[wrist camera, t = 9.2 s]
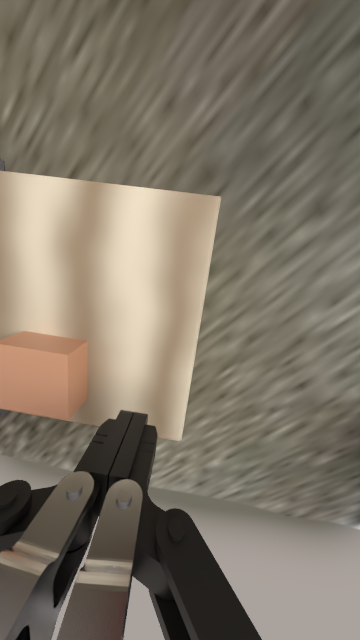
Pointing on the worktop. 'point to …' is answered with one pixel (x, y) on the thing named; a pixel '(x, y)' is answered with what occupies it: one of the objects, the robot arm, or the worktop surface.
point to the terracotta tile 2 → (43, 374)
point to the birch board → (110, 285)
